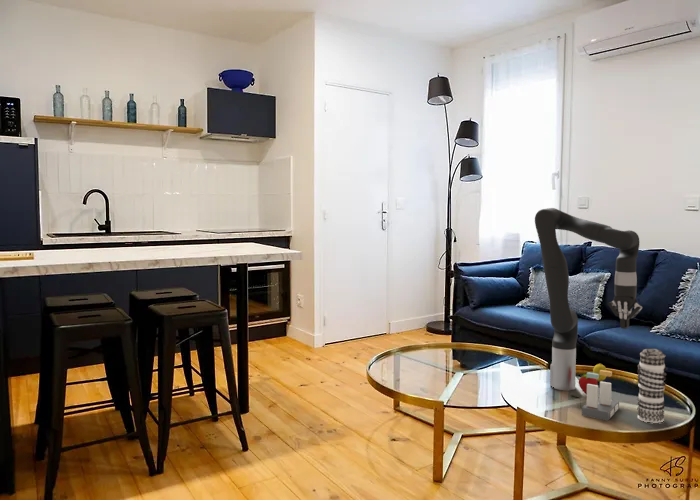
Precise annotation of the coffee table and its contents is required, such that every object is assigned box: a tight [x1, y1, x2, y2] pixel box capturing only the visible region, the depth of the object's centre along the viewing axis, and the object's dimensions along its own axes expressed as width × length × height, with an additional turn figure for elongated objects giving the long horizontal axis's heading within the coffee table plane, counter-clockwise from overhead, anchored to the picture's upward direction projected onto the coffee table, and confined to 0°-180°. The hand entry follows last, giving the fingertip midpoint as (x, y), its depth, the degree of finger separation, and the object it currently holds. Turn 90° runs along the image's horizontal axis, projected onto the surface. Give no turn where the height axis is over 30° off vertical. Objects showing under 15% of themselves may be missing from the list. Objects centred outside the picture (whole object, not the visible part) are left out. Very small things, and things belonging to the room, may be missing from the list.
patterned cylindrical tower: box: [636, 348, 667, 424], centre depth 201 cm, size 9×9×25 cm
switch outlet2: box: [599, 370, 613, 405], centre depth 208 cm, size 4×2×12 cm, turn 51°
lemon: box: [592, 363, 608, 383], centre depth 242 cm, size 6×6×8 cm
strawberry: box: [578, 373, 599, 396], centre depth 226 cm, size 6×8×10 cm
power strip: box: [581, 396, 620, 422], centre depth 211 cm, size 9×19×3 cm, turn 141°
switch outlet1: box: [586, 371, 599, 408], centre depth 205 cm, size 4×2×12 cm, turn 51°
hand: (624, 328), depth 216 cm, fingers closed
